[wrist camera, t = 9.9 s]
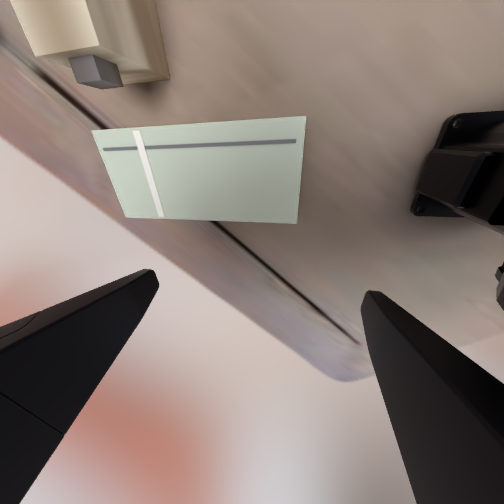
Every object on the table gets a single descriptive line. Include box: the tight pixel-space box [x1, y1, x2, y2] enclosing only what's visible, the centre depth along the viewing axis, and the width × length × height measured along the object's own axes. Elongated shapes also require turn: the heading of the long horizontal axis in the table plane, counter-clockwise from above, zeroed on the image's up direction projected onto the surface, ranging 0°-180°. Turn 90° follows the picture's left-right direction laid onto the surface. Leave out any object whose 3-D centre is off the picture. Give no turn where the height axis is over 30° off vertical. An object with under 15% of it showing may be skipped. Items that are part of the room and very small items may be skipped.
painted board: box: [92, 116, 306, 224], centre depth 16 cm, size 16×7×3 cm, turn 92°
